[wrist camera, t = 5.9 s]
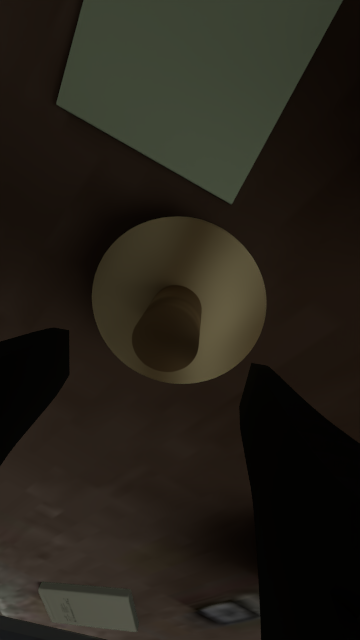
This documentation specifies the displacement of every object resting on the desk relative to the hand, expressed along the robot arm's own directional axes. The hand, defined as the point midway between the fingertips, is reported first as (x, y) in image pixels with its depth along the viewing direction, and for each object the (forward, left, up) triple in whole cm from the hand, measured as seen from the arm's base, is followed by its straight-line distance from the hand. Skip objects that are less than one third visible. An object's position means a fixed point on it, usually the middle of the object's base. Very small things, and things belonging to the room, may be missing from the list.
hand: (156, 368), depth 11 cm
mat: (+6, -13, -10) cm, 18 cm away
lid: (0, 0, -7) cm, 7 cm away
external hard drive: (-9, +45, -11) cm, 47 cm away
